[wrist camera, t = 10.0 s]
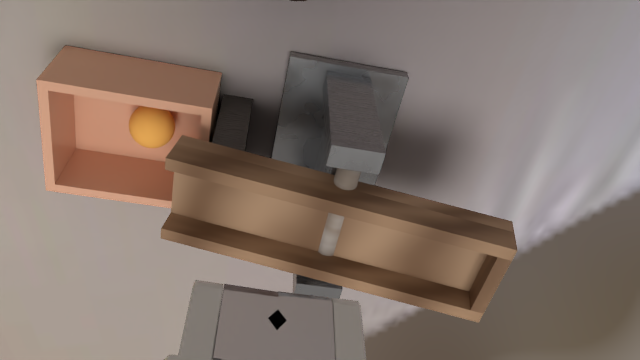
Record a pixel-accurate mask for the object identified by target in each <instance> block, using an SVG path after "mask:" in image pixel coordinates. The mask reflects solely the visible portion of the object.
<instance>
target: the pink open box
mask: <svg viewBox="0 0 640 360" xmlns="http://www.w3.org/2000/svg"><path fill="white" fill-rule="evenodd" d="M221 76H222V73H220V72H215V71H209V70H203V69H198V68H192V67H186V66H180V65H175V64H169V63H163V62H157V61H152V60H146V59H140V58H135V57H129V56H123V55H117V54H112V53H106V52H100V51H94V50H89V49H83V48H77V47H72V46H66V45H65V46H64V47H63V49H62V50H61V51H60V52H59V53H58V55H57V56H56V57H55V58H54V59H53V60H52V62H51V63H50V64H49V65H48V66H47V68H46V69H45V70H44V71H43V72H42V74H41V75H40V76H39V77H38V78H37V91H38V103H39V115H40V126H41V138H42V150H43V161H44V173H45V185H46V190H47V191H54V192H61V193H68V194H75V195H82V196H89V197H96V198H103V199H110V200H117V201H124V202H131V203H138V204H145V205H152V206H159V207H166V208H171V206H172V192H173V178H174V172H172V171H168V170H165V159H166V157H167V155H168V154H169V152H170V151H171V150H172V148H173V147H174V146H175V144H176V143H177V141H178V140H179V139H180V137H181V136H182V135H184V136H188V137H191V138H195V139H199V140H203V141H207V142H210V143H212V141H213V137H214V133H215V129H216V120H217V111H218V103H219V94H220V85H221ZM140 106H145V107H151V108H157V109H164V110H168V111H169V112H170V113H171V114H172V116H173V118H174V121H175V132H174V135H173V137H172V138H171V140H170V141H169V142H168V143H167V144H165V145H164V146H162V147H159V148H146V147H143V146H141V145H139V144H138V143H137V142H136V141H135V140H134V139H133V138H132V136H131V134H130V131H129V120H130V117H131V115H132V113H133V112H134V111H135V110H136V109H137V108H138V107H140Z"/></svg>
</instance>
